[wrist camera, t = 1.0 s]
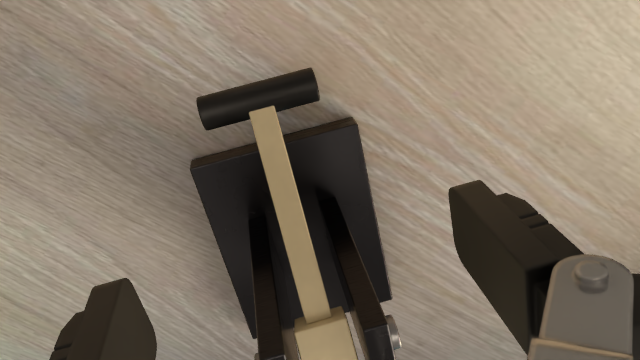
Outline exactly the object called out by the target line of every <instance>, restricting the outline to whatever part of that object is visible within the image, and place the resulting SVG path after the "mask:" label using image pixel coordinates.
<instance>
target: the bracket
mask: <svg viewBox="0 0 640 360" xmlns="http://www.w3.org/2000/svg"><path fill="white" fill-rule="evenodd" d="M283 140H284V143H285V147H286V151H287V154H288V158H289V161H290V165H291V169H292V172H293V176H294V180H295V183H296V187H297V191H298V194H299V198H300V201H301V205H302V209H303V212H304V216H305V220H306V223H307V227H308V231H309V234H310V238H311V242H312V245H313V249H314V252H315V256H316V260H317V263H318V267H319V271H320V274H321V278H322V282H323V285H324V289H325V292H326V296H327V300H328V303H329V307H330V309H332V308H336V307H339V306H342V308H343V310H344V313H346V312H349V311H350V314H351V317H352V320H353V323H354V326H355V329H356V332H357V335H358V338H359V341H360V344H361V347H362V350H363V353H364V357H365V360H396V358H395V354H394V350H395V349H398V348H401V340H400V336H399V333H398V329H397V326H396V324H395V321H394V319H393V317H392V315H387V316H385V315H384V313H383V310H382V308H381V305H380V303H381V302H384V301H388V300H391V299H392V294H391V289H390V284H389V279H388V274H387V269H386V264H385V259H384V254H383V249H382V244H381V239H380V234H379V229H378V224H377V219H376V214H375V209H374V204H373V199H372V194H371V189H370V184H369V179H368V174H367V169H366V164H365V159H364V154H363V149H362V144H361V139H360V134H359V129H358V124H357V123H356V121H355V120H354V119H353V117H350V118H347V119H343V120H339V121H335V122H332V123H328V124H324V125H321V126H317V127H313V128H309V129H306V130H302V131H298V132H295V133H291V134H287V135H284V136H283ZM190 171H191V174H192V177H193V179H194V182H195V185H196V187H197V190H198V193H199V195H200V198H201V201H202V203H203V206H204V209H205V211H206V214H207V217H208V219H209V222H210V225H211V228H212V230H213V233H214V236H215V238H216V241H217V244H218V246H219V249H220V252H221V254H222V257H223V260H224V262H225V265H226V268H227V270H228V273H229V276H230V278H231V281H232V284H233V286H234V289H235V292H236V295H237V297H238V300H239V303H240V305H241V308H242V311H243V313H244V316H245V319H246V321H247V324H248V327H249V329H250V332H251V335H252V337H253V339H256V338H257V341H258V353H256V354H255V357H254V360H299V358H298V352H297V346H296V340H295V336H294V329H293V328H294V321H295V319H298V318H301V317H304V313H303V310H302V306H301V302H300V299H299V295H298V291H297V288H296V284H295V280H294V277H293V273H292V269H291V266H290V262H289V258H288V255H287V251H286V248H285V244H284V240H283V237H282V233H281V229H280V226H279V222H278V218H277V215H276V211H275V207H274V204H273V200H272V196H271V193H270V189H269V185H268V182H267V178H266V174H265V171H264V167H263V163H262V160H261V156H260V152H259V149H258V145H257V143H254V144H250V145H246V146H243V147H239V148H235V149H232V150H228V151H224V152H220V153H217V154H213V155H209V156H206V157H202V158H198V159H194V160H192V161H191V165H190Z"/></svg>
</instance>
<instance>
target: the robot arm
mask: <svg viewBox="0 0 640 360" xmlns="http://www.w3.org/2000/svg"><path fill="white" fill-rule="evenodd" d="M449 203H450V212H451V220H452V228H453V236H454V242H455V247H456V250H457V253H458V255H459V258H460V260H461V262H462V264H463V265H464V267H465V268H466V269H467V271H468V272H469V274H470V275H471V276H472V278H473V279H474V281H475V282H476V284H477V285H478V286H479V288H480V289H481V291H482V292H483V293H484V295H485V296H486V298H487V299H488V300H489V302H490V303H491V305H492V306H493V308H494V309H495V310H496V312H497V313H498V315H499V316H500V317H501V319H502V320H503V322H504V323H505V324H506V326H507V327H508V329H509V330H510V332H511V333H512V334H513V336H514V337H515V339H516V340H517V341H518V343H519V344H520V346H521V347H522V348H523V350H524V351H525V353H526V354H527V356H528V357H527V360H640V274H631V272H630V271H629V270H628V269H627V268H626V267H625V266H624V265H622V264H621V263H619V262H617V261H615V260H613V259H610V258H607V257H603V256H598V255H588V254H586V255H585V254H584V253H583V252H581V251H580V250H579V249H578V248H577V247H576V246H575V245H574V244H573V243H571V242H570V241H569V240H568V239H567V238H566V237H565V236H564V235H563V234H562V233H560V232H559V231H558V230H557V229H556V228H555V227H554V226H553V225H552V224H549V223H548V221H547V220H546V219H545V218H544V217H543V216H542V215H541V214H538V212H537V211H536V210H535V209H534V208H533V207H532V206H531V205H530V204H528V203H527V202H526V201H525V200H523V199H520V198H518V197H515V196H513V195H510V194H508V193H504V194H501V195H497V196H496V195H495V194H494V193H493V192H492V191H491V190H490V189H489V188H488V187H487V186H486V185H485V184H484V183H483V182H482V181H481V180H476V181H473V182H469V183H466V184H462V185H458V186H455V187H451V188H450V189H449ZM54 350H55V351H54V352H52V354H51V357H50V359H49V360H155V358H156V351H157V343H156V336H155V332H154V329H153V326H152V324H151V322H150V320H149V318H148V315H147V313H146V311H145V309H144V307H143V305H142V303H141V301H140V299H139V297H138V295H137V293H136V291H135V289H134V287H133V285H132V283H131V282H130V280H129V279H127V278H123V279H119V280H116V281H112V282H109V283H105V284H101V285H98V286H95V287H93V289H92V291H91V293H90V296H89V299H88V302H87V304H86V307H85V310H84V311H82V312H79V313H76V314H75V315H74V316H73V317H72V319H71V320H70V321H69V322H68V323H67V324H66V326H65V327H64V328H63V329H62V330H61V332H60V335H59V337H58V340H57V342H56V345H55V347H54Z"/></svg>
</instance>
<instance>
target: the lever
mask: <svg viewBox="0 0 640 360" xmlns="http://www.w3.org/2000/svg"><path fill="white" fill-rule="evenodd" d="M319 100H320V95H319V90H318V86H317V82H316V78H315V75H314V72H313V70H312V68H307V69H303V70H299V71H296V72H292V73H288V74H284V75H280V76H277V77H273V78H269V79H265V80H261V81H258V82H254V83H250V84H246V85H243V86H239V87H235V88H231V89H227V90H224V91H220V92H216V93H212V94H208V95H205V96H201V97H198V98H197V100H196V101H197V107H198V111H199V115H200V118H201V121H202V124H203V126H204V128H205V129H206V130H212V129H215V128H219V127H223V126H226V125H230V124H234V123H238V122H241V121H245V120H249V119H250V120H251V123H252V127H253V131H254V134H255V138H256V141H257V145H258V149H259V152H260V156H261V160H262V163H263V167H264V171H265V174H266V178H267V182H268V185H269V189H270V193H271V196H272V200H273V204H274V207H275V211H276V215H277V218H278V222H279V226H280V229H281V233H282V237H283V240H284V244H285V248H286V251H287V255H288V258H289V262H290V266H291V269H292V273H293V277H294V280H295V284H296V288H297V291H298V295H299V299H300V302H301V306H302V310H303V313H304V317H301V318H298V319H295V321H294V336H295V340H296V344H297V347H298V351H299V355H300V358H301V360H358V357H357V353H356V350H355V346H354V342H353V339H352V335H351V331H350V328H349V324H348V321H347V318H346V315H345V313H344V310H343V308H342V306H339V307H336V308H332V309H330V307H329V303H328V300H327V296H326V292H325V289H324V285H323V282H322V278H321V274H320V271H319V267H318V263H317V260H316V256H315V252H314V249H313V245H312V242H311V238H310V234H309V231H308V227H307V223H306V220H305V216H304V212H303V209H302V205H301V201H300V198H299V194H298V191H297V187H296V183H295V180H294V176H293V172H292V169H291V165H290V161H289V158H288V154H287V151H286V147H285V143H284V140H283V136H282V132H281V129H280V125H279V121H278V118H277V114H276V112H279V111H283V110H286V109H290V108H294V107H298V106H301V105H305V104H309V103H313V102H316V101H319Z"/></svg>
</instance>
